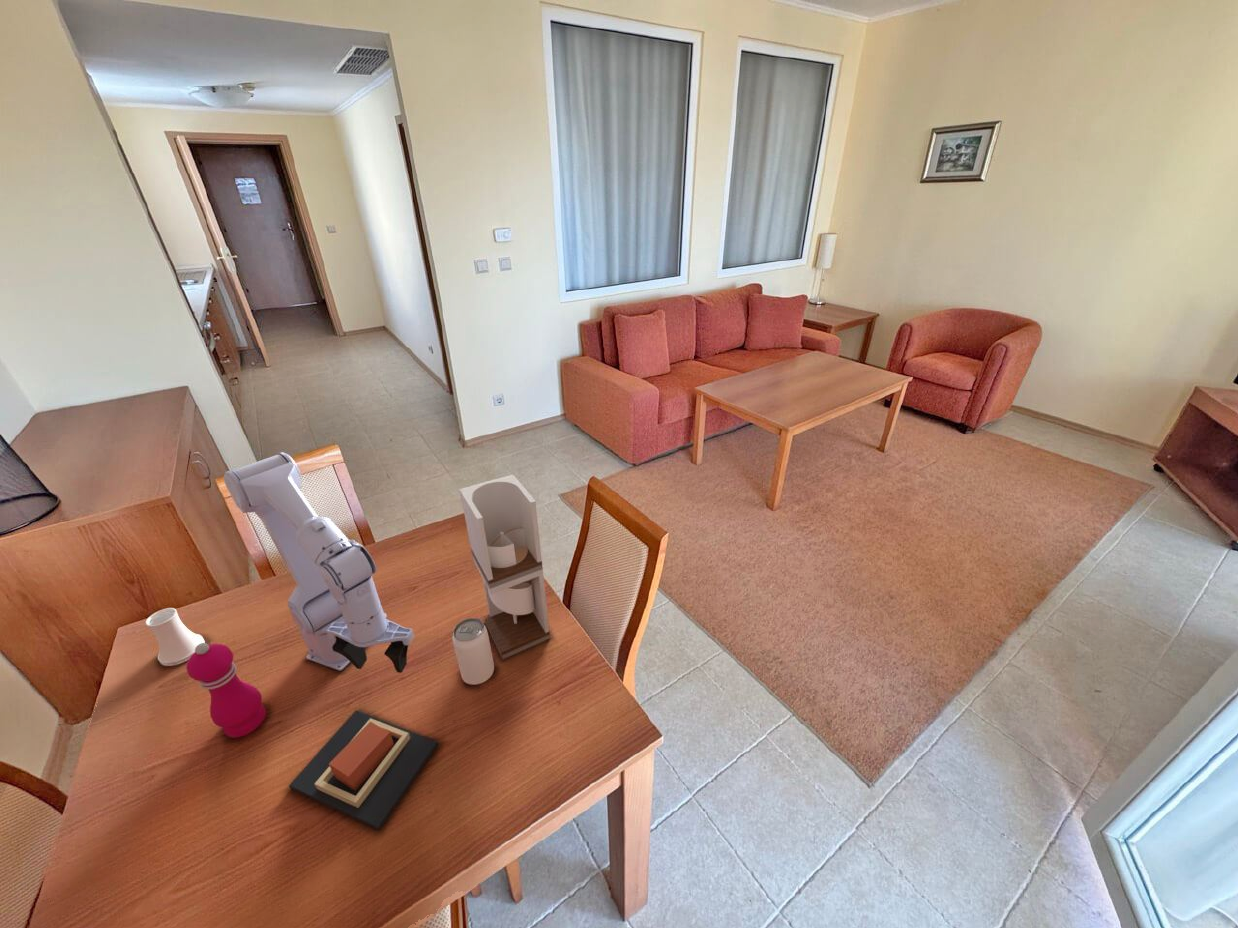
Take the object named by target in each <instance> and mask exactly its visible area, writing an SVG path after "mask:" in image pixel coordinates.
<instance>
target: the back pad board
mask: <svg viewBox="0 0 1238 928" xmlns="http://www.w3.org/2000/svg"><path fill="white" fill-rule="evenodd" d="M369 722H372V723H374V724H376V725H377V726H379V727H381V728H383V729H384V730H386V731H388V732H390V735H391V738H392V740H393V743H394V745H395V746H394V747H393V748H392V749H391V751H390V752H389V753H388V755H387V756H386V757H385V758H384V759H383V761H382V762H381V763H380V764H379V765H378V766H377V767H376V768H375V770H374V771H373V772H372V773H371V774H370V775H369V776H368V777H367V778H366V780H365V781H364V782H363V783H362V784H361V785H360V786H359V787H358V788H357V790H356V791H354V790H352V789H351V788H349V787H348V786H347V785H345V784H344V783H342V782H341V781H339V780H338V779H336V778H335V776H334V774H333V772H332V770H331V768H330V766H329V763H330V762H331V761H332V760H333V759H334V758H335V757H336V756H337V755H338V754H339V753H340V752H341V751H342V750H343V749H344V748H345V747H346V746H347V745H348V744H349V743H350V742H351V741H352V740H353V739H354V738H355V737H356V736H357V735H358V734H359V733H360V732H361V731H362V730H363V729H364V728H365V727H366V725H367V724H368V723H369ZM438 746H439V742H438V741H437V740H435V739H432V738H430V737H427V736H424V735H422V734H419V733H417V732H414V731H412V730H409V729H407V728H403V727H401V726H398V725H395V724H394V723H391V722H389V721H386V720H383V719H380V718H378V717H376V716H372V715H370V714H368V713H365V712H362V711H359V710H358V709H357V710H355V711H354V712H353V713H352V714H351V715H350V716H349V718H348V719H347V720H346V721H345V722H344V723H343V724H342V726H341V727H340V728H339V729H338V730H337V731H336V732H335V733H334V734H333V736H332V737H331V738H330V739H328V741H327V742H326V743H325V744H324V745H323V747H321V749H320V750H319V751H318V752H317V753H316V755H314V757H313V758H312V759H311V760H310V761H309V763H308V764H307V765H306V766H305V767H304V768H303V769H302V770H301V771H300V772H299V773H298V775H297V776H296V777H294V779H293V780H292V781H291V783H290V784H289V785H288V787H289V789H290V790H292V791H294V792H296V793H299V794H301V795H303V796H305V797H307V798H308V799H311V800H313V801H315V802H317V803H320V804H322V805H324V806H326V807H328V808H330V809H332V810H334V811H337V812H338V813H341V814H343V815H345V816H347V817H349V818H351V819H354V820H356V821H358V822H360V823H361V824H364V825H367V826H369V827H371V828H372V829H375V830H377V831H381V829H382V827H383V826H384V825H385V823H386V822H387V821H388V819H389V817H391V815H392V814H393V812H394V810H395V809H396V808H397V806H398V804H399V803H400V802H401V800H402V799H403V797H404V796H405V794H406V793H407V791H408V790H409V788H410V787H411V785H412V784H413V782H414V781H415V780H416V779H417V777H418V776H419V774H420V773H421V771H422V770H423V768H424V767H425V765H426V764H427V762H428V761H429V759H430V758H431V756H432V755H433V754H434V752H435V751H436V749H437V748H438Z"/></svg>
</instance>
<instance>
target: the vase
mask: <svg viewBox="0 0 1238 928" xmlns="http://www.w3.org/2000/svg"><path fill="white" fill-rule="evenodd" d="M145 625H146V626H147V627H148V629H150V630H151V632H152V633H153V634H154V637H155V638H156V640H157V643H158V648H159V651H158V654H157V661H159V663H160V665H162V666H165V667H173V666H178V665H180V664H183V663H185V662H188V660H189V658H190V657H191V656H192V655H193V654H194V653H195V648H196V646H197V645H199V644H201V643H206V641H205V639H204V637H203V635H202V634H199V633H195V632H193V631H192V630H190V629H189V628H188V627H187V626H186V625H185V624H184V623H183V621H182V620H181V619H180V617H179V614H178V611H177V609H176V608H174V607H167V608H163V609H160V610H157V611H156V612H154V613H152V614H151V615H149V616H148V618H146V620H145Z"/></svg>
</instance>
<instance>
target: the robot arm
mask: <svg viewBox="0 0 1238 928" xmlns="http://www.w3.org/2000/svg"><path fill="white" fill-rule="evenodd" d="M301 480H302V474H301V471H300V469H299V467H298V464H297V463H296V462H295V460H294V459H293V457H291V455H290V454H289V453H285V452H284V451H280V452H278V453H277V454H275V455H272V456H270V457H267V458H264V459H261V460H258V461H256V462H252V463H250V464H247V465H244V466H241V467H237V468H235V469H233V470H227V471H225V473H224V475H223V481H224V484H225V486H226V489H227V490H228V492H229V494H230V496H231V498H232V500H233V501H234V503H235V505H236V507H237V508H238V510H240V511H241V513H242V514H247V513H249V514H250V513H254V514H255V515H256V516H257V517H258V518H259V519H260V520H261V522H262V524H263V526H264V527H265V529H266V531H267V533H268V535H269V537H270V539H271V541H272V542H273V544H274V546H275V547H276V549H277V552H278V553H279V555H280V557H281V559H282V560H283V563H284V564H285V566H286V568H287V570H288V571H289V573H290V575H291V577H292V579H293V581H294V583H295V584H296V586H295V588H294V590H293V591H292V593H291V595H290V596H289V597H288V599H287V602H286V603H287V607H288V608H289V611H290V615H291V617H292V619H293V621H294V623H295V624H296V626H297V627H298V629H299V630H300V635H301V637H302V639H303V642H304V644H305V647H306V648H307V651H308V652H309V653H308V654H307V655H306V656H305V658H306V659H307V660H308V661H312V662H314V663H317V664H319V665H323V666H325V667H328V668H331V669H334V670H337V671H343V670H344V669H345V668H346V667H347V666H348V665H349V664H350V663H351V664H352V665H353V666H354V667H355V668H356V669H357V670H361V669H362V668H363V667H364V665H365V664H366V662H367V660H368V657H367V651H366V649H365V648H368V647H374V646H378V645H383V644H389V645H388V647H387V648H386V650H385V651H384V653H383V654H384V656H386V657H387V658H389V660H390V661H391V663H392V664H393V667H394V669H395V671H396V672H397V673H400V674H402V673H403V672H404V670H405V668H406V666H407V665H408V649H409V646H410V645H411V643H412V642H413V640H414V638H415V634H414V631H413V630H414V629H413V628H409V627H405V626H402V625H400V624H398V623H396V622H394V621H392V620H389V619H387V617H388V615H387V613H385V612H384V609H383V606H382V603H381V600H380V598H379V594H378V591H377V588H376V585H375V582H374V579H373V575H374V574H376V573H377V566H376V563H375V560H374V558H373V557H372V555H371V553H369V551H368V550H367V549H366V547H365V546H364V545H362V544H361V543H360V542H357V541H355V539H349V538H348V537H347V535H345V533H344V532H343V531H342V530H341V529H340V528H339V527H338V525H336V523H335V522H334V521H333V520H332V519H331V518H330V517H327V516H319V515H318V514H317V513H316V511H315V510H314V508H313V507H312V506H311V504H310V503H309V501H308V500H307V498H306V497H305V496H304V494H303V492H302V491H301V490H300V489H301V488H302V486H303V485H302V481H301Z"/></svg>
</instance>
